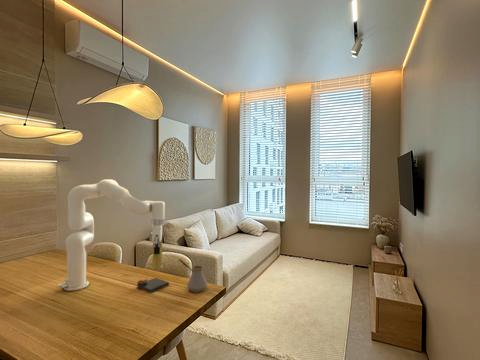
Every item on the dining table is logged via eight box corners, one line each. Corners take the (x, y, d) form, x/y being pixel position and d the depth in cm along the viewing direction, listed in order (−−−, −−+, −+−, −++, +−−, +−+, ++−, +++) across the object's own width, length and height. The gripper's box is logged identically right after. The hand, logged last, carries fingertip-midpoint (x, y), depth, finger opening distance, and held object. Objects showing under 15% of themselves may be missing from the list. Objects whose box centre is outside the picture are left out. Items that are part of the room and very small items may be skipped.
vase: (153, 265, 158) (153, 241, 158) (163, 265, 159) (163, 241, 159) (150, 268, 152) (150, 244, 152) (161, 268, 153) (161, 244, 153)
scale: (149, 293, 146) (149, 287, 146) (135, 287, 153) (135, 281, 153) (168, 285, 157) (168, 279, 157) (154, 280, 164) (154, 274, 164)
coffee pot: (211, 288, 154) (211, 263, 154) (197, 295, 144) (198, 268, 144) (185, 280, 165) (185, 256, 165) (171, 286, 156) (171, 261, 156)
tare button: (142, 283, 152) (142, 280, 152) (139, 282, 153) (139, 279, 153) (145, 281, 154) (145, 279, 154) (143, 280, 155) (143, 278, 155)
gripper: (153, 219, 163) (152, 249, 163) (149, 224, 146) (148, 257, 146) (165, 219, 164) (165, 248, 165) (163, 224, 148) (162, 256, 148)
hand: (157, 252), depth 155 cm, fingers closed on vase, 5 cm apart
